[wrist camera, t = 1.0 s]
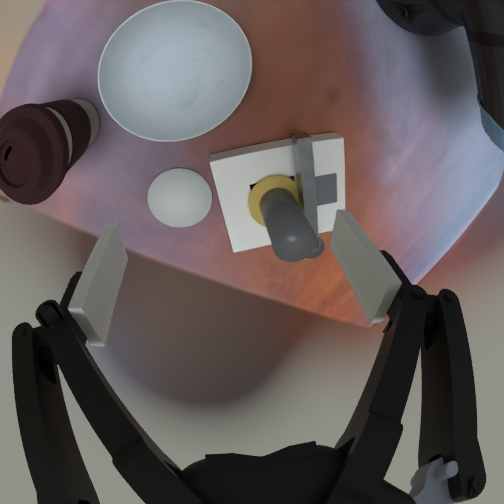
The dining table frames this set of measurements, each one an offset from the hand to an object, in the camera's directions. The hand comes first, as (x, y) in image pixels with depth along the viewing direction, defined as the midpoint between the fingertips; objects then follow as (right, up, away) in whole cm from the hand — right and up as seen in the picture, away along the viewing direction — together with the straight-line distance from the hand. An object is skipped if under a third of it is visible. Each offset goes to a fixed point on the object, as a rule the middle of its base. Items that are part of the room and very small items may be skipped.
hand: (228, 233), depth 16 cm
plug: (+4, +8, +22) cm, 24 cm away
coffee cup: (-21, +16, +12) cm, 29 cm away
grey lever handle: (+8, +6, +18) cm, 21 cm away
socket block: (+5, +8, +22) cm, 24 cm away
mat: (-9, +6, +21) cm, 24 cm away
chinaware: (-7, +20, +11) cm, 24 cm away
